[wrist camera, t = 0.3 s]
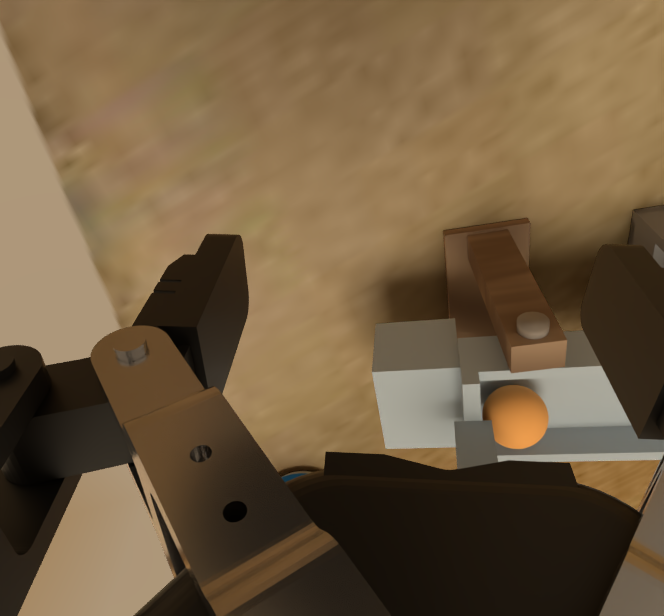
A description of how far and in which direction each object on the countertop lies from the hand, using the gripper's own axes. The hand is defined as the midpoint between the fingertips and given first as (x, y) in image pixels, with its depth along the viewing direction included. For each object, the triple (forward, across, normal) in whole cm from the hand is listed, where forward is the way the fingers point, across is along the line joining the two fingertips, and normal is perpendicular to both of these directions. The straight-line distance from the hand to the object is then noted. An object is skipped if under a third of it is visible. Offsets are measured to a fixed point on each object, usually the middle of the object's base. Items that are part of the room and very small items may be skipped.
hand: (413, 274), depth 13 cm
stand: (+20, -7, +14) cm, 25 cm away
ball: (+9, -7, +14) cm, 18 cm away
